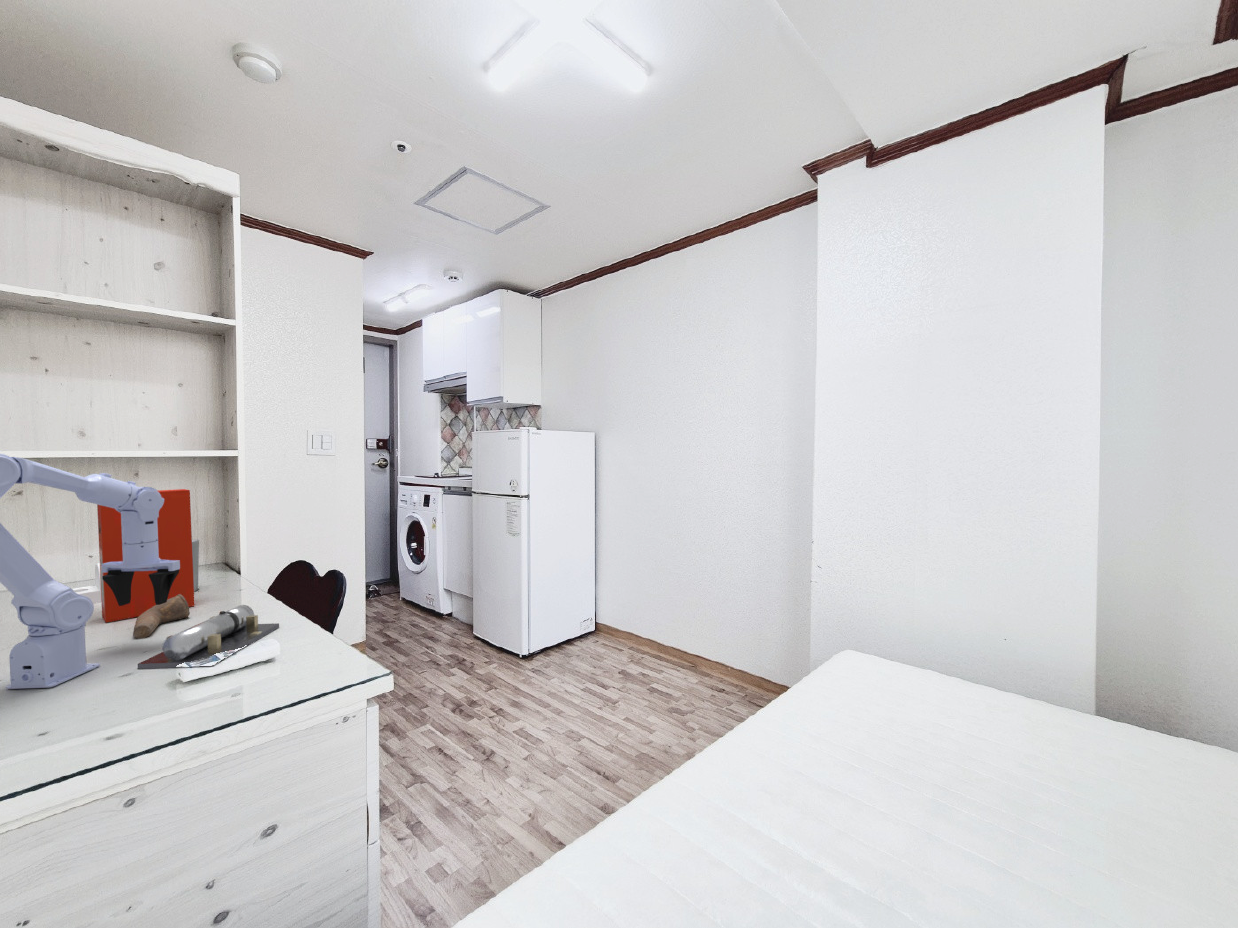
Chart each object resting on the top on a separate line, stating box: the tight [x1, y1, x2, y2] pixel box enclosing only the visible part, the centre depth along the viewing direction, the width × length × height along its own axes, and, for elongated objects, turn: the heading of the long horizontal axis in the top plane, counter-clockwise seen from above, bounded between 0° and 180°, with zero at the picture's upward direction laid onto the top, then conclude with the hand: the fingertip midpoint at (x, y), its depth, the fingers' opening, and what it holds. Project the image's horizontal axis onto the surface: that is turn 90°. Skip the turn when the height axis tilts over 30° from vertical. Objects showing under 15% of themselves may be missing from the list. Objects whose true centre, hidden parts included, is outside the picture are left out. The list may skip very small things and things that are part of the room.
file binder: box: [96, 488, 195, 624], centre depth 136 cm, size 8×17×32 cm, turn 140°
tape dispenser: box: [71, 562, 102, 605], centre depth 150 cm, size 10×18×11 cm, turn 141°
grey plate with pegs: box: [137, 614, 280, 670], centre depth 112 cm, size 22×14×4 cm, turn 3°
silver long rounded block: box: [162, 604, 255, 661], centre depth 112 cm, size 20×5×6 cm, turn 3°
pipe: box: [132, 594, 191, 639], centre depth 125 cm, size 6×17×10 cm
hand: (143, 603), depth 112 cm, fingers open, 7 cm apart
